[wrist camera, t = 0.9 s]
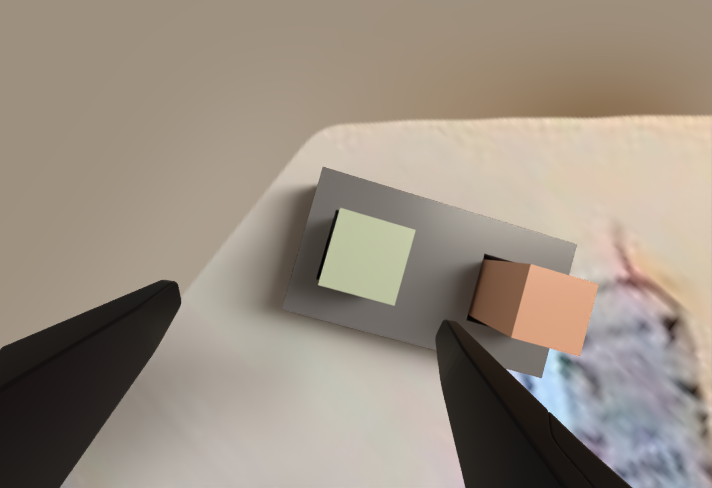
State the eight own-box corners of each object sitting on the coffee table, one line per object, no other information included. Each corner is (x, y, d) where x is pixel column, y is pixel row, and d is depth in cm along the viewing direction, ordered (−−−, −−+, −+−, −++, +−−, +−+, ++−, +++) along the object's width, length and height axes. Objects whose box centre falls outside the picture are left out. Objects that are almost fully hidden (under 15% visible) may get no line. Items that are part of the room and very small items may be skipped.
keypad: (501, 351, 26) (541, 378, 21) (293, 296, 24) (281, 309, 19) (530, 244, 26) (576, 244, 21) (325, 182, 24) (322, 166, 19)
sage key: (379, 289, 21) (394, 305, 15) (323, 274, 20) (318, 284, 15) (394, 233, 21) (415, 230, 15) (339, 217, 20) (340, 207, 15)
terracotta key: (517, 327, 21) (579, 356, 16) (465, 313, 21) (511, 337, 16) (532, 274, 22) (598, 284, 16) (480, 259, 21) (531, 263, 16)
